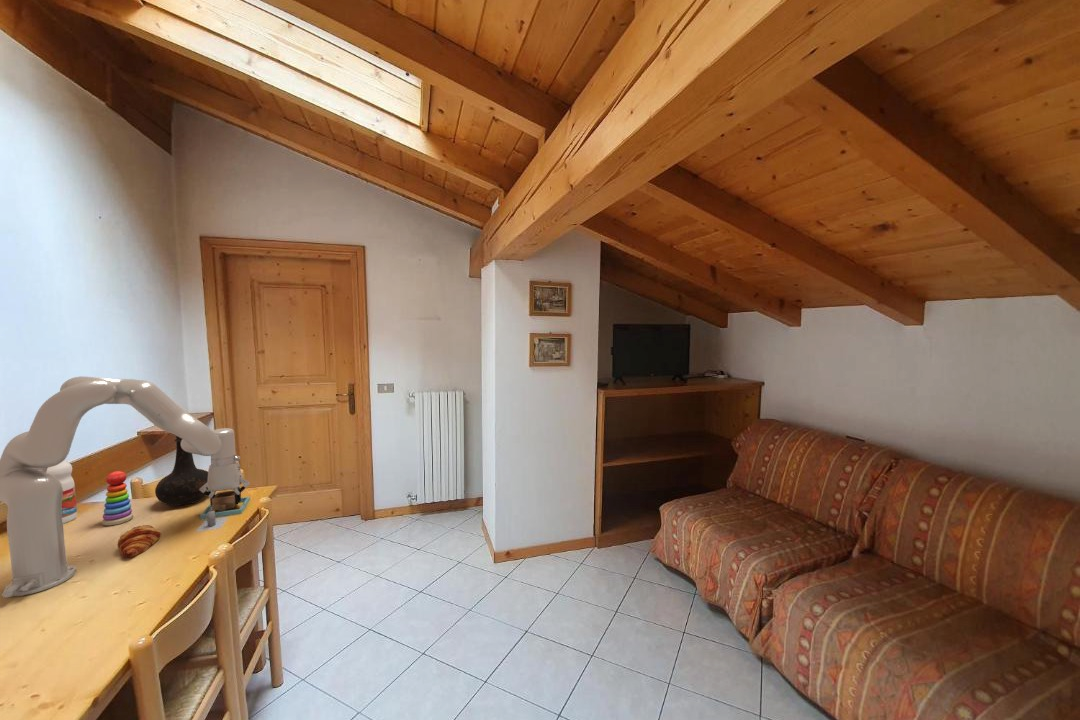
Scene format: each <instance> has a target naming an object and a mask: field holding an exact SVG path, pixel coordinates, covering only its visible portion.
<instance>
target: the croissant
mask: <svg viewBox="0 0 1080 720" xmlns="http://www.w3.org/2000/svg"><path fill="white" fill-rule="evenodd" d="M161 535H162V533H161V531H160V530H159V529H158V528H156V527H154V526H152V525H150V524H144V525H138V526H135V527H133V528H131V529H130V530H127V531H126V532H124V533H122V534H121V535H120V536H119V538H118V539H117V543H116V544H117V545H116V546H117V548H118V550H119V553H120V554H121V556H122V557H123V558H125V559H127V558H133V557H135V556H137V555H139V554H142V553H144V552H146V551H147V550H149V548H151V547H153V546H154V545H155V543H157V541H158V540H159V539H160V538H161Z"/></svg>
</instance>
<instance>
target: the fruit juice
mask: <svg viewBox="0 0 1080 720" xmlns="http://www.w3.org/2000/svg"><path fill="white" fill-rule="evenodd" d="M72 472H73V466H72V464H71V462H69V461H67V460H66V459H65V460H64V461H62V462H61V463H60V464H58V465H55V466H52V467H48V468H47V471H46V473H47V474H50V475H52V476H54V477H55V478H57V479H58V480H59V481H60V483H61V485H62V488H63V496H62V523H63V524H66V523H69V522H72V521H73V520H75V519H77V517H78V508H77V506H78V505H77V495H76V484H75V481H74V478H73V476H72Z"/></svg>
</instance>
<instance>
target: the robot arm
mask: <svg viewBox="0 0 1080 720" xmlns="http://www.w3.org/2000/svg"><path fill="white" fill-rule="evenodd" d="M104 404H105V405H128V406H131V408H134V409H135V410H136V411H137V412H138V413H140V414H141V415H142V416H144V418H146V419H147V420H148V421H149V422H150V423H151V424H152V425H154V426H155V427H157V428H159V429H160V430H162V431H165V432H167V433H169V434H172V435H174V436H175V437H176V436H178V437H180V438H182V441H181V448H182V449H183V450H184V451H186V452H189V453H192V455H193V454H194V455H198V456H202V457H203V456H204V457H210V465H209V466H208V481H207V483H205V484H204V485H203V486H202V487H201V488H200V489H199V490H200V491H201V492H202V493H204V494H205V497H206V496H207V497H208V499H209V502H210V504H209V505H212V498H213V497H214V496H215V495H216V494H217V493H216V492H221V491H229V490H234V491H235V493H236V495H235V503H236V506H237V505H239V504H240V503H241V502H240V501H241V498H242V492H244V491H245V489H246V488H247V487H248V486H249V485H250V481H249V480H248V479H246V478H244V477H243V476H242V469H241V465H240V462H239V460H241V456H240V455H238V454H237V453H236V441H235V430H234V429H233V428H229V427H224V428H222V427H221V428H217V429H213V430H212V429H211V427H209V426H207V425H206V424H205V423H203V422H202V421H200V420H199V419H198V418H196V417H194V416H193V415H191V413H189V412H187V411H186V410H185V409H183V408H182V407H180V405H178V404H177V403H176V402H175V401H174V400H173V399H172V398H171V397H170V396H169V395H167V394H166V393H165V392H164V391H163V390H161V388H160V387H158V386H157V385H156V384H154V383H153V382H150V381H147V380H140V379H133V378H132V379H131V378H130V379H129V378H112V377H111V378H108V377H96V376H94V377H93V376H75V377H71V378H69V379H68V380H65V381H64V382H63V383H62V384H61V386H60V389H59V391H57V393H55V394H53V395H52V396H50V397H49V398H47V399H46V400H45V401H44V402H43V404H42V405H40V407H39V409H38V410H37V412H36V413H35V417H34V419H33V421H32V423H31V425H30V426H29V427H30V428H29V430H28V431H25V432H22V433H19V434H18V435H16V436H15V437H12V439H10V440H9V441H8V443H7V444H6V446H5V447H4V449H3V450H2V454H1V456H0V502H1V503H4V504H5V505H6V507H7V516H6V532H7V537H8V546H9V547H8V548H9V557H10V565H11V574H12V579H11V582H10V583H9V584H8V585H6V586H5V588H4V589H3V592H2V593H1V595H2V597H3V598H10V597H22V596H28V595H32V594H35V593H40V592H42V591H45V590H47V589H52V588H54V587H55V586H58V585H60V584H62V583H64V582H66V581H68V580H70V578H72V577H73V576H74V575H75V574H76V571H77V570H76V567H75V566H74V565H71V564H67V555H66V554H67V553H66V543H65V541H66V540H65V532H64V531H65V530H64V523H62V496H63V488H62V485H61V483H60V481H59V480H58V479H57V478H55V477H54V476H52V475H50V474H47V473H46V471H47V468H48V467H52V466H55V465H58V464H60V463H61V462H62V461H64V460H66V459H67V457H68V455H69V453H70V451H71V447H72V443H73V440H74V438H75V435H76V432H77V428H78V426H79V424H80V423H81V420H82V418H83V417H84V416H85V414H86V413H89V412H90V411H91V410H92V409H94V408H96V407H99V406H102V405H104ZM240 485H242V486H240ZM207 486H208V490H207V489H206V487H207ZM239 502H240V503H239Z"/></svg>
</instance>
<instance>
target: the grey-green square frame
mask: <svg viewBox="0 0 1080 720" xmlns="http://www.w3.org/2000/svg"><path fill="white" fill-rule="evenodd" d="M249 501H251V496H245V497H241V501H240V502H239V503H238V504H240V503H242V504H241V505H240V508H238V509H230V510H223V511H217V512H216V511H215V519H217V518H224V517H229V516H235V515H242V514H243V512H244V511H245V509H246V508H247V506H248V505H249V504H250V502H249ZM209 511H212V505H210V504H209V505H208V506H207V507H206V508H205V509H204V510H203V512H202V513H201V514H200V515H199V517H200V518H199V519H200V521H202V520H207V512H209Z"/></svg>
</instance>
